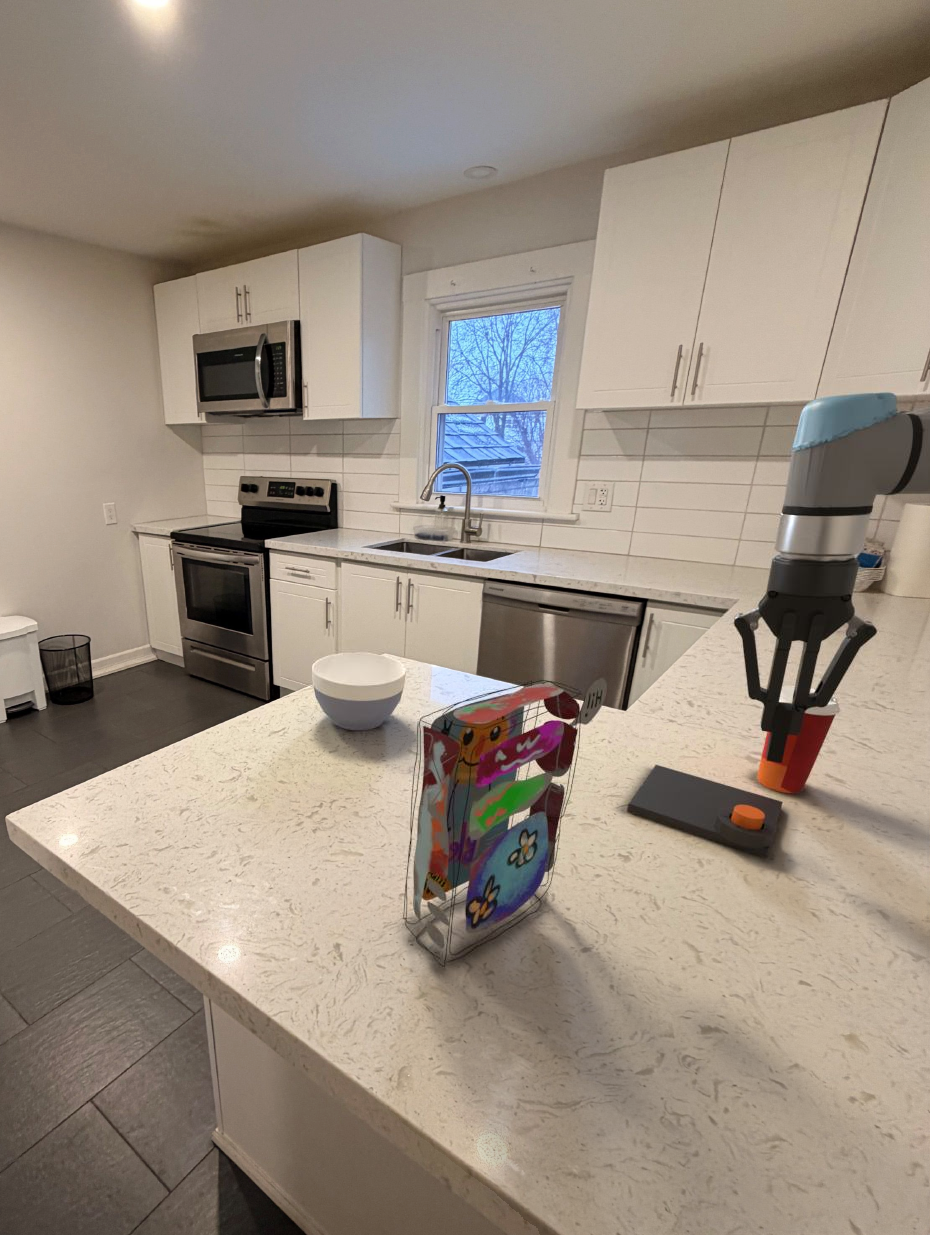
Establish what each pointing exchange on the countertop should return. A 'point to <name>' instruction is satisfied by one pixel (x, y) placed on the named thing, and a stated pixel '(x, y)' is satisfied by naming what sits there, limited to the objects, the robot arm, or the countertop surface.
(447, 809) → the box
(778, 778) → the paper cup
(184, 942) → the countertop surface
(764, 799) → the scale
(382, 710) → the bowl
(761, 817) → the tare button
